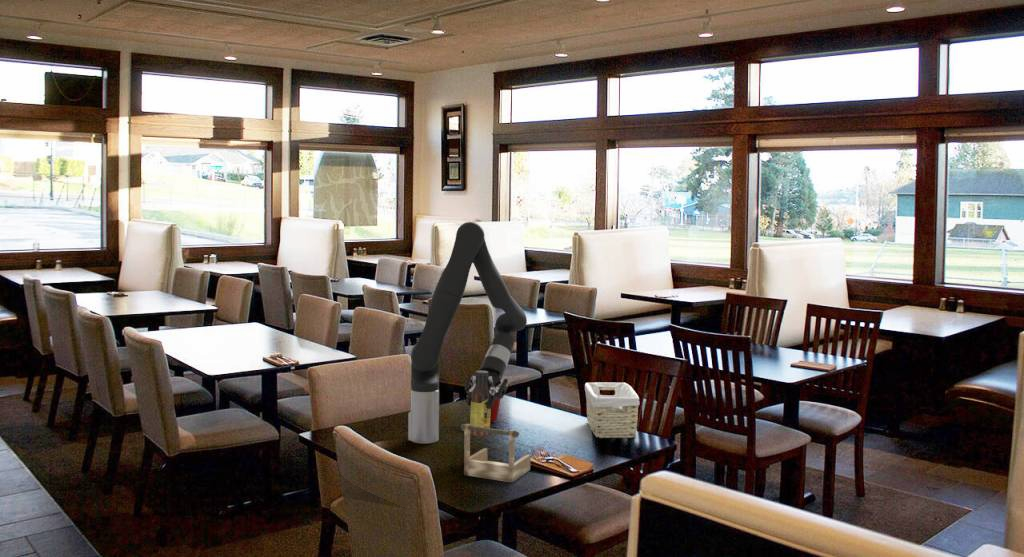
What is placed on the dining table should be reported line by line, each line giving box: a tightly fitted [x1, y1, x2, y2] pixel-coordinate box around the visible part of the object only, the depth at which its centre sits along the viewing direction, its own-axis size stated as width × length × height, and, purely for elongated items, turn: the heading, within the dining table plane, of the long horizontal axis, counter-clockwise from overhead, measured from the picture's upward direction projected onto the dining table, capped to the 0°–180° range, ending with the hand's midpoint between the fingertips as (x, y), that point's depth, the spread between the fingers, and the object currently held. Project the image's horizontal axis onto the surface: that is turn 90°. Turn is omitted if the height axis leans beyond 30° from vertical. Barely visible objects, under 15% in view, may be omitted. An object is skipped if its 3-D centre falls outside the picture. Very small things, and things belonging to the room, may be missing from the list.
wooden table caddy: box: [460, 423, 531, 483], centre depth 256 cm, size 18×14×15 cm
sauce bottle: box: [469, 370, 491, 437], centre depth 270 cm, size 6×6×20 cm
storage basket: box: [584, 381, 640, 439], centre depth 306 cm, size 24×16×15 cm
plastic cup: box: [489, 386, 501, 423], centre depth 315 cm, size 11×11×12 cm
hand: (478, 405), depth 269 cm, fingers closed on sauce bottle, 6 cm apart
